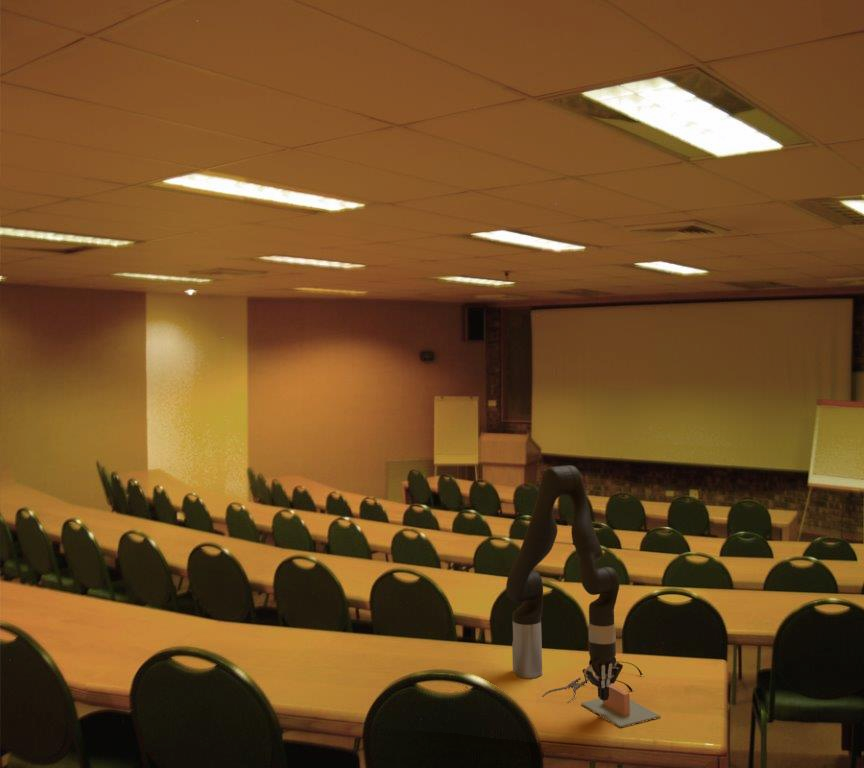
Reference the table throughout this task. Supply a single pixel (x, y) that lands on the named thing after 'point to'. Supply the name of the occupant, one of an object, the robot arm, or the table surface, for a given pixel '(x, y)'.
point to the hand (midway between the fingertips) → (603, 699)
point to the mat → (636, 714)
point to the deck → (618, 700)
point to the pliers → (572, 684)
